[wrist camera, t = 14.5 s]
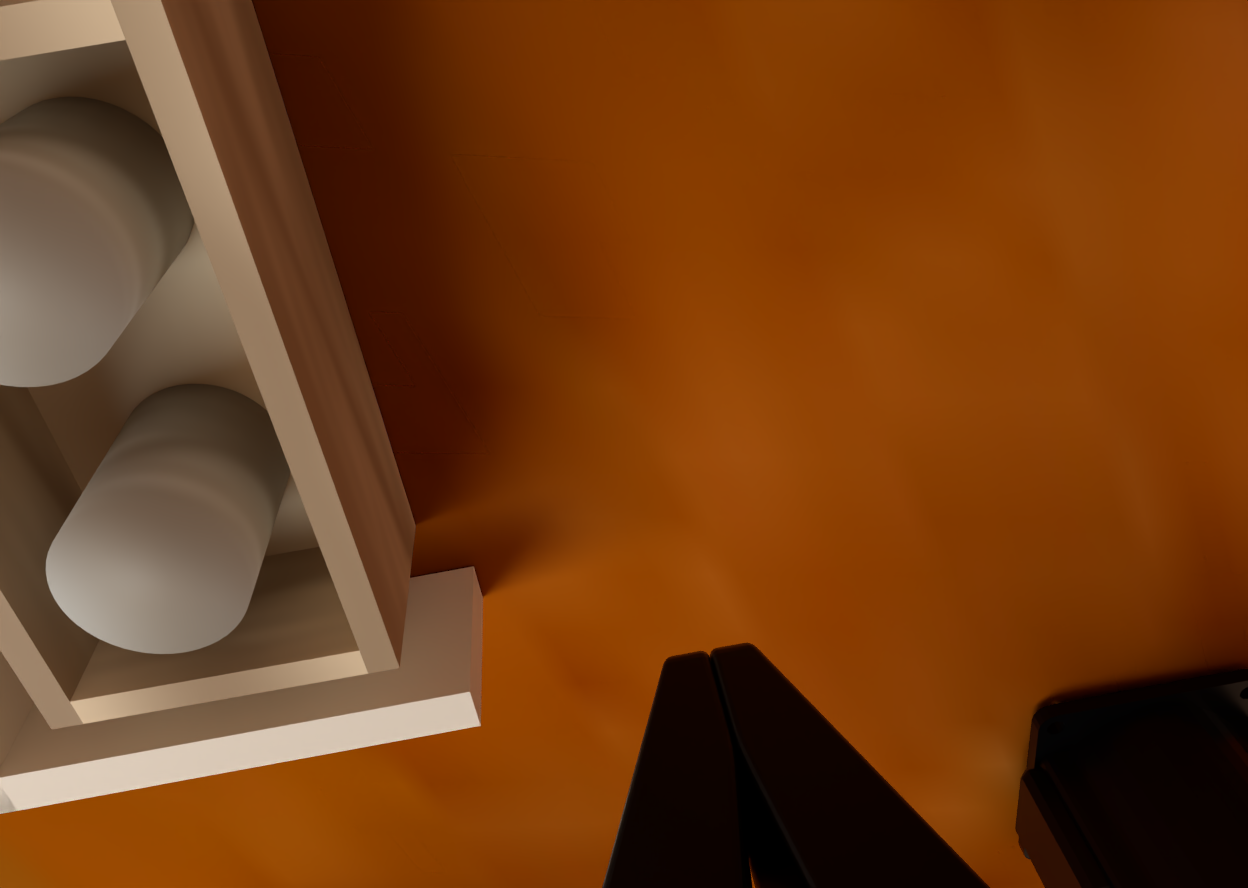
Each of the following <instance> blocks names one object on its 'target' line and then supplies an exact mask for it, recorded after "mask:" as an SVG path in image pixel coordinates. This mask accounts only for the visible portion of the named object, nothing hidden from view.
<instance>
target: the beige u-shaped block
mask: <svg viewBox="0 0 1248 888" xmlns="http://www.w3.org/2000/svg"><path fill="white" fill-rule="evenodd" d="M482 625H483V597H482V593H481V590H480V586H479V583H478V579H477V576H476V573H475V569H474V566H473V567H467V568H462V569H456V570H451V571H445V572H440V573H434V574H429V575H423V576H418V577H412V578H410V582H409V591H408V600H407V608H406V617H405V626H404V634H403V643H402V652H401V661H400V668H397V669H391V670H386V671H380V672H374V673H369V674H363V675H357V676H352V677H346V678H340V679H335V680H329V681H323V682H318V683H312V684H307V685H301V686H295V687H290V688H284V689H278V690H273V691H267V692H261V693H256V694H250V695H244V696H239V697H233V698H227V699H222V700H216V701H211V702H205V703H199V704H194V705H188V706H182V707H177V708H171V709H165V710H160V711H154V712H148V713H143V714H137V715H131V716H126V717H120V718H115V719H109V720H103V721H98V722H92V723H86V724H81V725H75V726H69V727H64V728H58V729H51V728H50V726H49V725H48V723H47V722H46V720H45V718H44V717H43V715H42V714H41V712H40V711H39V709H38V708H37V706H36V705H35V703H34V702H33V700H32V698H31V697H30V695H29V694H28V692H27V691H26V689H25V688H24V686H23V685H22V683H21V681H20V680H19V678H18V677H17V675H16V674H15V672H14V671H13V669H12V668H11V666H10V665H9V663H8V661H7V660H6V658H5V657H4V655H3V654H2V652H1V651H0V814H2V813H8V812H13V811H19V810H24V809H29V808H35V807H40V806H46V805H51V804H57V803H62V802H68V801H73V800H79V799H84V798H89V797H95V796H100V795H106V794H111V793H117V792H122V791H128V790H133V789H138V788H144V787H149V786H155V785H160V784H166V783H171V782H177V781H182V780H187V779H193V778H198V777H204V776H209V775H215V774H220V773H226V772H231V771H237V770H242V769H247V768H253V767H258V766H264V765H269V764H275V763H280V762H286V761H291V760H296V759H302V758H307V757H313V756H318V755H324V754H329V753H335V752H340V751H346V750H351V749H356V748H362V747H367V746H373V745H378V744H384V743H389V742H395V741H400V740H405V739H411V738H416V737H422V736H427V735H433V734H438V733H444V732H449V731H455V730H460V729H465V728H471V727H476V726H481V681H482Z"/></svg>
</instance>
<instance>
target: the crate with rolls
mask: <svg viewBox="0 0 1248 888" xmlns="http://www.w3.org/2000/svg"><path fill="white" fill-rule="evenodd" d="M415 530H416V525H415V522H414V518H413V515H412V512H411V509H410V506H409V502H408V499H407V496H406V493H405V490H404V486H403V483H402V480H401V477H400V474H399V470H398V467H397V464H396V461H395V458H394V454H393V451H392V448H391V445H390V442H389V438H388V435H387V432H386V429H385V425H384V422H383V419H382V416H381V413H380V409H379V406H378V403H377V400H376V397H375V393H374V390H373V387H372V384H371V381H370V377H369V374H368V371H367V368H366V365H365V361H364V358H363V355H362V352H361V349H360V345H359V342H358V339H357V336H356V333H355V329H354V326H353V323H352V320H351V317H350V313H349V310H348V307H347V304H346V301H345V297H344V294H343V291H342V288H341V285H340V281H339V278H338V275H337V272H336V269H335V265H334V262H333V259H332V256H331V253H330V249H329V246H328V243H327V240H326V237H325V233H324V230H323V227H322V224H321V221H320V217H319V214H318V211H317V208H316V205H315V201H314V198H313V195H312V192H311V189H310V185H309V182H308V179H307V176H306V173H305V169H304V166H303V163H302V160H301V157H300V153H299V150H298V147H297V144H296V141H295V137H294V134H293V131H292V128H291V125H290V121H289V118H288V115H287V112H286V109H285V105H284V102H283V99H282V96H281V93H280V89H279V86H278V83H277V80H276V76H275V73H274V70H273V67H272V64H271V60H270V57H269V54H268V51H267V48H266V44H265V41H264V38H263V35H262V32H261V28H260V25H259V22H258V19H257V16H256V12H255V9H254V6H253V3H252V0H0V651H1V652H2V654H3V655H4V657H5V658H6V660H7V661H8V663H9V665H10V666H11V668H12V669H13V671H14V672H15V674H16V675H17V677H18V678H19V680H20V681H21V683H22V685H23V686H24V688H25V689H26V691H27V692H28V694H29V695H30V697H31V698H32V700H33V702H34V703H35V705H36V706H37V708H38V709H39V711H40V712H41V714H42V715H43V717H44V718H45V720H46V722H47V723H48V725H49V726H50V728H51V729H58V728H64V727H69V726H75V725H81V724H86V723H92V722H98V721H103V720H109V719H115V718H120V717H126V716H131V715H137V714H143V713H148V712H154V711H160V710H165V709H171V708H177V707H182V706H188V705H194V704H199V703H205V702H211V701H216V700H222V699H227V698H233V697H239V696H244V695H250V694H256V693H261V692H267V691H273V690H278V689H284V688H290V687H295V686H301V685H307V684H312V683H318V682H323V681H329V680H335V679H340V678H346V677H352V676H357V675H363V674H369V673H374V672H380V671H386V670H391V669H397V668H400V661H401V652H402V643H403V634H404V626H405V617H406V608H407V600H408V591H409V582H410V573H411V565H412V556H413V547H414V538H415Z"/></svg>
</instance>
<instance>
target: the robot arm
mask: <svg viewBox="0 0 1248 888" xmlns="http://www.w3.org/2000/svg"><path fill="white" fill-rule="evenodd" d="M1016 832H1017V834H1018V836H1019V841H1018V842H1019V846H1020V848H1021V850H1022V852H1023V854H1024V856H1025V857H1026V858H1028V859H1031V861H1032V863H1033V865H1034V867H1035V869H1036V871H1037V873H1038V875H1039V877H1040V879H1041V881H1042V883H1043V885H1044V887H1045V888H1248V669H1243V670H1237V671H1232V672H1226V673H1221V674H1216V675H1210V676H1205V677H1199V678H1194V679H1189V680H1183V681H1178V682H1172V683H1167V684H1161V685H1156V686H1151V687H1145V688H1140V689H1134V690H1129V691H1124V692H1118V693H1113V694H1107V695H1102V696H1096V697H1091V698H1086V699H1080V700H1075V701H1069V702H1064V703H1059V704H1053V705H1049V706H1046V707H1043V708H1042V709H1040V710H1039V711H1037V712H1036V714H1035V715H1034V716H1033V719H1032V724H1031V733H1030V742H1029V751H1028V760H1027V769H1026V770H1025V772H1024V774H1023V775H1022V777H1021V781H1020V790H1019V800H1018V809H1017V818H1016ZM750 869H751V872H750ZM751 873H752V877H753V881H754V884H755V887H756V888H990V887H989V886H988V885H987V884H986V883H985V882H984V881H983V880H982V879H981V878H980V877H979V876H978V875H977V874H976V873H975V872H974V871H973V870H972V869H971V868H970V867H969V866H968V864H967V863H966V862H965V861H964V860H963V859H962V858H961V857H960V856H959V855H958V854H957V853H956V852H955V851H954V850H953V849H952V848H951V847H950V846H949V845H948V844H947V843H946V842H945V841H944V840H943V839H942V838H941V837H940V836H939V835H938V834H937V833H936V832H935V830H934V829H933V828H932V827H931V826H930V825H929V824H928V823H927V822H926V821H925V820H924V819H923V818H922V817H921V816H920V815H919V814H918V813H917V812H916V811H915V810H914V809H913V808H912V807H911V806H910V805H909V804H908V803H907V802H906V801H905V800H904V799H903V798H902V797H901V795H900V794H899V793H898V792H897V791H896V790H895V789H894V788H893V787H892V786H891V785H890V784H889V783H888V782H887V781H886V780H885V779H884V778H883V777H882V776H881V775H880V774H879V773H878V772H877V771H876V770H875V769H874V768H873V767H872V766H871V765H870V764H869V763H868V761H867V760H866V759H865V758H864V757H863V756H862V755H861V754H860V753H859V752H858V751H857V750H856V749H855V748H854V747H853V746H852V745H851V744H850V743H849V742H848V741H847V740H846V739H845V738H844V737H843V736H842V735H841V734H840V733H839V732H838V731H837V730H836V729H835V728H834V726H833V725H832V724H831V723H830V722H829V721H828V720H827V719H826V718H825V717H824V716H823V715H822V714H821V713H820V712H819V711H818V710H817V709H816V708H815V707H814V706H813V705H812V704H811V703H810V702H809V701H808V700H807V699H806V698H805V697H804V696H803V695H802V694H801V693H800V691H799V690H798V689H797V688H796V687H795V686H794V685H793V684H792V683H791V682H790V681H789V680H788V679H787V678H786V677H785V676H784V675H783V674H782V673H781V672H780V671H779V670H778V669H777V668H776V667H775V666H774V665H773V664H772V663H771V662H770V661H769V660H768V659H767V657H766V656H765V655H764V654H763V653H762V652H761V651H760V650H759V649H758V648H757V647H755V646H754V645H753V644H750V643H742V644H736V645H731V646H725V647H720V648H715V649H713V650H712V651H711V654H710V657H709V655H708V654H707V653H706V652H704V651H698V652H692V653H687V654H682V655H676V656H671V657H669V658H667V659H666V661H665V662H664V664H663V668H662V671H661V675H660V679H659V682H658V686H657V690H656V693H655V697H654V701H653V704H652V708H651V712H650V715H649V719H648V722H647V726H646V730H645V733H644V737H643V741H642V744H641V748H640V752H639V755H638V759H637V763H636V766H635V770H634V774H633V777H632V781H631V785H630V788H629V792H628V796H627V799H626V803H625V807H624V810H623V814H622V818H621V821H620V825H619V829H618V832H617V836H616V840H615V843H614V847H613V850H612V854H611V858H610V861H609V865H608V869H607V872H606V876H605V880H604V883H603V887H602V888H752V880H751Z"/></svg>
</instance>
